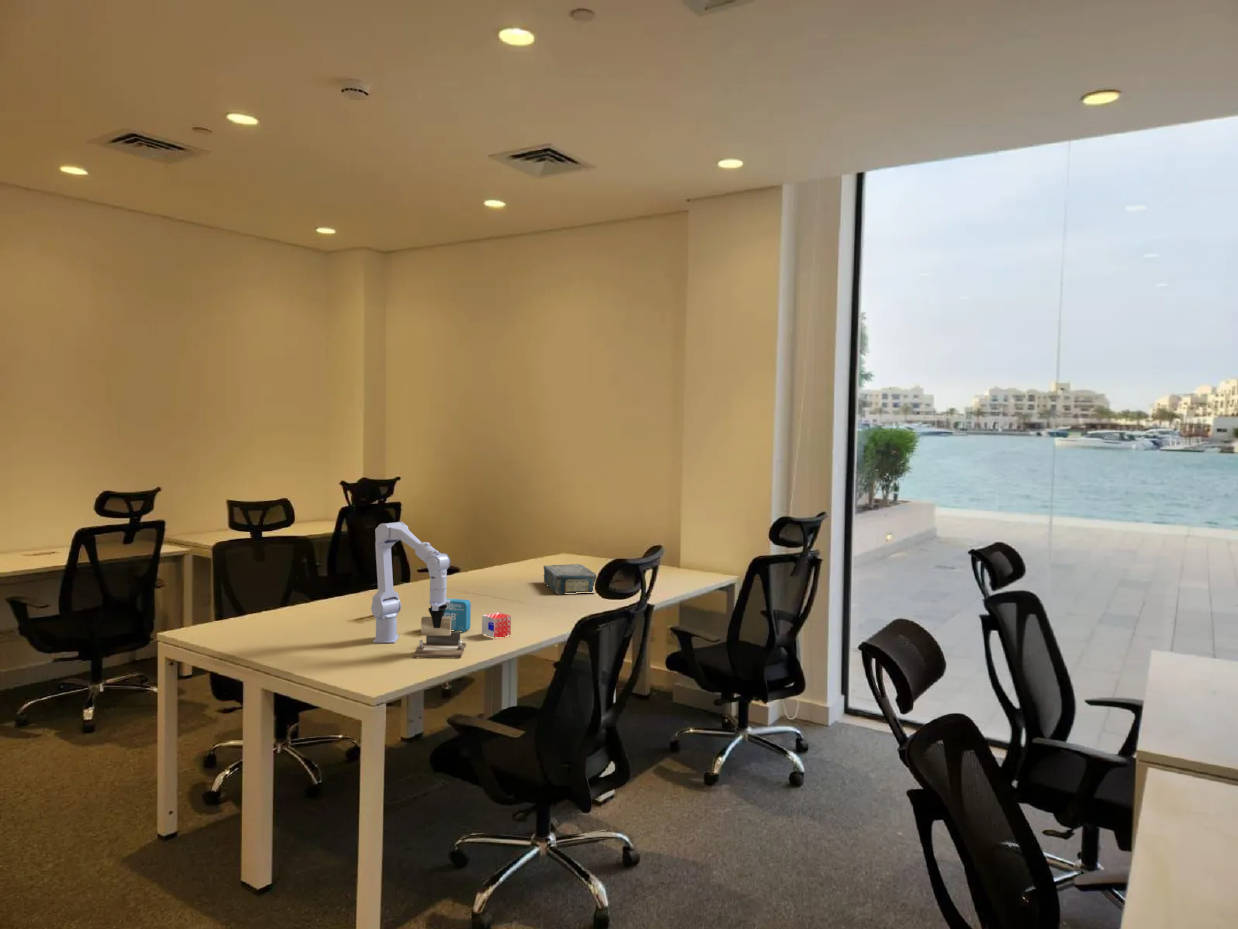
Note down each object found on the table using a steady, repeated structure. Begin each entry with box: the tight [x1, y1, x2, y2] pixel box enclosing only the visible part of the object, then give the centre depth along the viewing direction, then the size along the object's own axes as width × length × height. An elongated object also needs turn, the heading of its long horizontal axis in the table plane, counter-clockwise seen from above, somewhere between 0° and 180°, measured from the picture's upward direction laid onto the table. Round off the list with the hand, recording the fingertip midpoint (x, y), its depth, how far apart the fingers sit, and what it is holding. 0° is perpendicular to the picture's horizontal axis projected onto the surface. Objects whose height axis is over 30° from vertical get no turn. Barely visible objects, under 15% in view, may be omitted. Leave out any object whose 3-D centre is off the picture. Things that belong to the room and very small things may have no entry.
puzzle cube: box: [481, 611, 512, 638], centre depth 312 cm, size 8×8×8 cm
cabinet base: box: [413, 632, 467, 658], centre depth 288 cm, size 16×16×5 cm
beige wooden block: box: [420, 616, 451, 636], centre depth 287 cm, size 3×10×6 cm, turn 94°
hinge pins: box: [418, 639, 463, 649], centre depth 288 cm, size 1×15×3 cm, turn 95°
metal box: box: [543, 563, 597, 595], centre depth 409 cm, size 21×32×10 cm, turn 16°
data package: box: [443, 597, 472, 633], centre depth 319 cm, size 12×4×12 cm, turn 78°
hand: (437, 626), depth 287 cm, fingers closed on beige wooden block, 3 cm apart
